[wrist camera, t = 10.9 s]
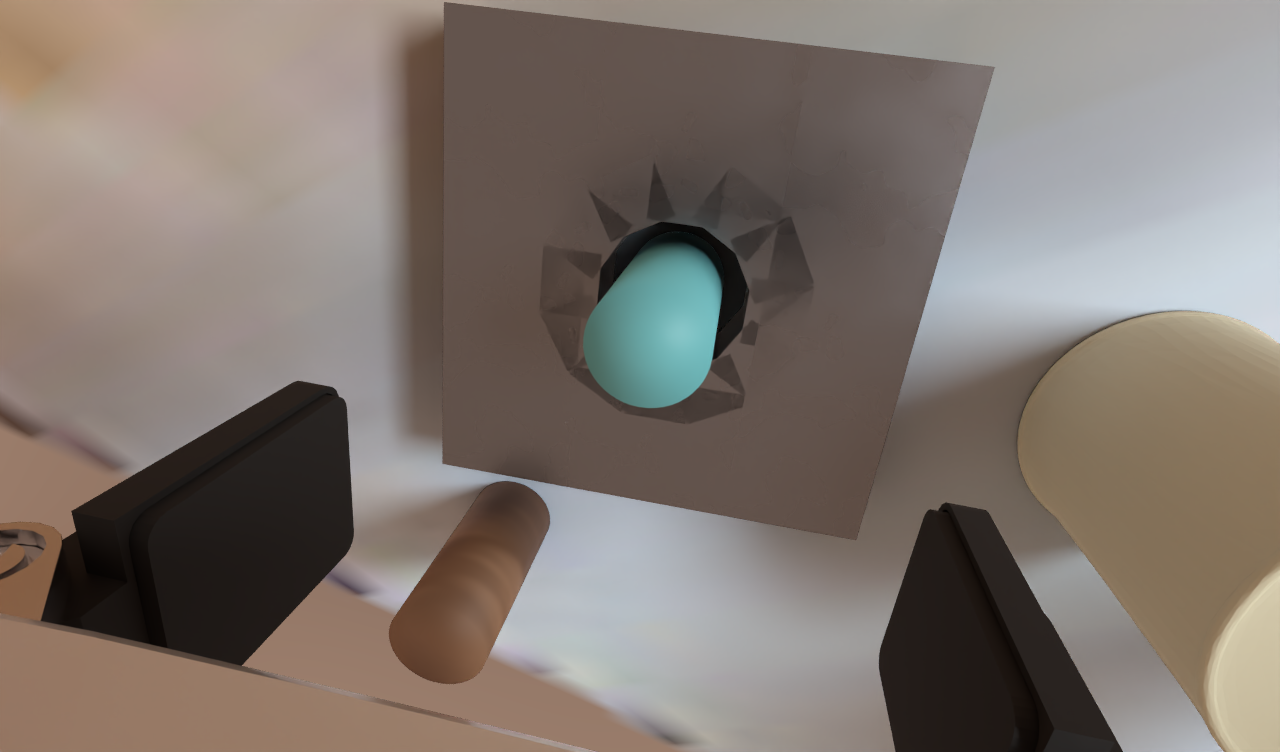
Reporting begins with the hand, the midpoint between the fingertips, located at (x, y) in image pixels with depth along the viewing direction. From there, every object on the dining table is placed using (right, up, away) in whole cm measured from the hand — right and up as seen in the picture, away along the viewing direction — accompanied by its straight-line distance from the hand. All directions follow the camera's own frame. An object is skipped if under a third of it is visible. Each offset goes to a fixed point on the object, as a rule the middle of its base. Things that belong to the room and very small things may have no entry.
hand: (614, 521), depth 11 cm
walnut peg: (-5, -4, +20) cm, 21 cm away
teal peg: (+2, +6, +15) cm, 16 cm away
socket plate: (+2, +6, +15) cm, 16 cm away
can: (+19, 0, +14) cm, 24 cm away
